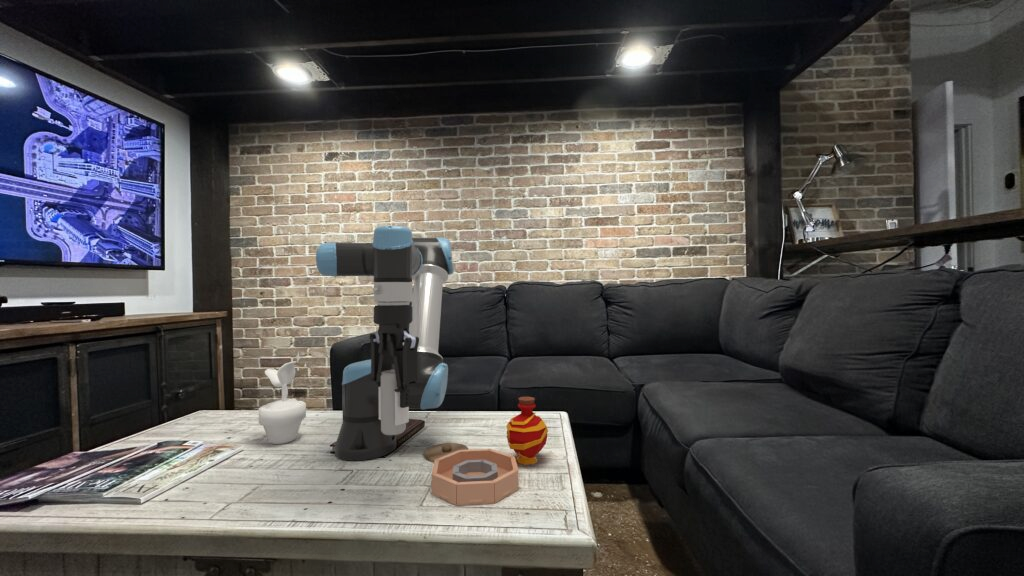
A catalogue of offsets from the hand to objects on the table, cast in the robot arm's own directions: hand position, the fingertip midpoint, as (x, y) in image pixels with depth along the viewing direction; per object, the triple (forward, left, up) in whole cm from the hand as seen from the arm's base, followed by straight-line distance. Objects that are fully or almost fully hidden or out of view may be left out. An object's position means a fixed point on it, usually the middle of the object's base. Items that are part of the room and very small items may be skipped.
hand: (393, 420), depth 83 cm
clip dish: (+8, +15, -16) cm, 23 cm away
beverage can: (0, 0, -2) cm, 2 cm away
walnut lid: (-9, +22, -16) cm, 28 cm away
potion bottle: (+9, +32, -16) cm, 37 cm away
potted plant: (-53, 0, -16) cm, 55 cm away
